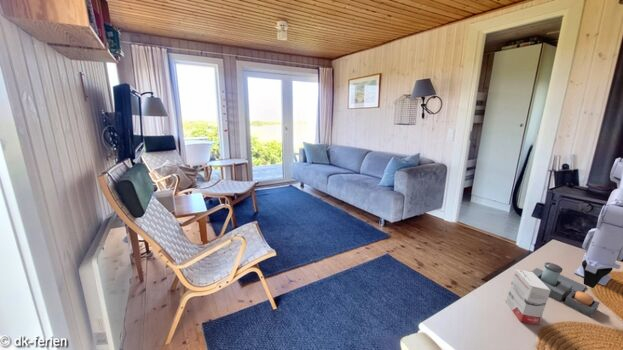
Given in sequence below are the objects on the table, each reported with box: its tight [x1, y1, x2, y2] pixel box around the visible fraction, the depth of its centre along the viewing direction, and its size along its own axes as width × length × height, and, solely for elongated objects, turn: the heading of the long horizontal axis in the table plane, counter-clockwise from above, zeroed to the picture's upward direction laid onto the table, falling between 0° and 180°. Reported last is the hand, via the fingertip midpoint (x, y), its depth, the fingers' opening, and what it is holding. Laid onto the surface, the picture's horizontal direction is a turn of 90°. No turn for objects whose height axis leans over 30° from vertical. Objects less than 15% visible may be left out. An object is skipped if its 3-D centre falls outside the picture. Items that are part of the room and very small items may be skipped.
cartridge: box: [540, 262, 563, 287], centre depth 88 cm, size 4×4×8 cm
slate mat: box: [559, 274, 588, 292], centre depth 90 cm, size 7×7×1 cm
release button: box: [574, 291, 595, 307], centre depth 80 cm, size 4×4×2 cm
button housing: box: [564, 290, 600, 318], centre depth 80 cm, size 6×6×2 cm
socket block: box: [530, 267, 573, 302], centre depth 88 cm, size 10×10×2 cm
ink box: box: [505, 268, 551, 326], centre depth 75 cm, size 9×5×12 cm, turn 168°
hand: (588, 285), depth 78 cm, fingers closed
